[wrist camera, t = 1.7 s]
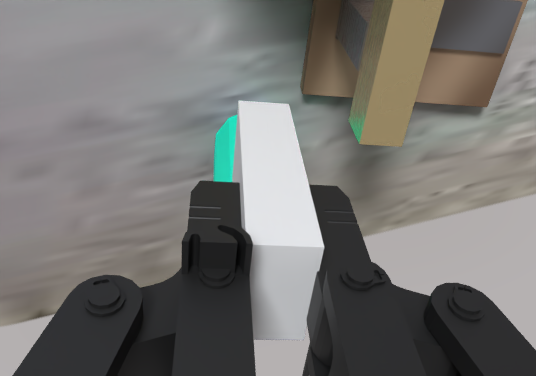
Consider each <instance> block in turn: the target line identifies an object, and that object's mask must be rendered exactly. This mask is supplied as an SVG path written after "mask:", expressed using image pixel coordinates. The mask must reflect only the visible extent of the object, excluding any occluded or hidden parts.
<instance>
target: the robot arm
mask: <svg viewBox="0 0 536 376" xmlns="http://www.w3.org/2000/svg"><path fill="white" fill-rule="evenodd" d="M307 326H308V331H309V337H310V345H309V350H308V353H307V358H306V362H305V366H304V370H303V376H536V350H535V349H534V348H533V347H532V345H531V344H530V343H529V342H528V341H527V340H526V339H525V338H524V336H523V335H522V334H521V333H520V332H519V331H518V330H517V329H516V327H515V326H514V325H513V324H512V323H511V322H510V321H509V320H508V318H507V317H506V316H505V315H504V314H503V313H502V312H501V311H500V309H499V308H498V307H497V306H496V305H495V304H494V303H493V302H492V301H491V300H490V299H489V298H488V297H487V296H486V295H484V294H483V293H482V292H480V291H478V290H476V289H474V288H472V287H470V286H467V285H463V284H459V283H444V284H442V285H439V286H437V287H436V288H435V289H434V291H433V292H432V293H431V296H428V295H424V294H420V293H416V292H413V291H409V290H406V289H403V288H400V287H397V286H396V285H393V284H392V283H391V280H390V278H389V277H388V275H387V274H386V272H385V271H384V270H383V269H382V268H380V267H379V266H378V265H377V264H375V263H373V262H371V260H370V257H369V254H368V251H367V249H366V246H365V243H364V240H363V237H362V234H361V231H360V228H359V226H358V224H357V220H356V217H355V214H354V213H353V209H352V206H351V203H350V200H349V198H348V197H347V196H346V195H345V194H344V193H343V192H342V191H341V190H340V189H339V188H338V187H337V186H324V185H309V184H308V180H307V176H306V172H305V168H304V164H303V160H302V155H301V151H300V147H299V143H298V139H297V135H296V131H295V127H294V123H293V119H292V115H291V111H290V107H289V104H280V103H265V102H251V101H238V113H237V126H236V138H235V151H234V163H233V175H232V182H218V181H200V182H199V183H198V184H197V186H196V187H195V188H194V189H193V190H192V191H191V199H190V209H189V220H188V230H187V232H186V233H185V235H184V238H183V240H182V267H181V268H180V270H179V271H178V272H177V273H176V274H175V275H174V276H173V277H171V278H169V279H167V280H166V281H164V282H161V283H158V284H154V285H151V286H146V287H142V288H139V287H138V286H137V285H136V284H135V283H134V282H133V281H132V280H130V279H127V278H125V277H122V276H117V275H103V276H98V277H93V278H90V279H88V280H86V281H84V282H82V283H81V284H79V285H78V286H77V287H76V288H75V289H74V290H73V291H72V292H71V293H70V294H69V295H68V297H67V298H66V299H65V301H64V302H63V304H62V305H61V307H60V308H59V310H58V311H57V312H56V314H55V315H54V317H53V318H52V320H51V321H50V322H49V324H48V325H47V327H46V328H45V330H44V331H43V333H42V334H41V336H40V337H39V338H38V340H37V341H36V343H35V344H34V346H33V347H32V348H31V350H30V352H29V353H28V354H27V356H26V357H25V359H24V360H23V361H22V363H21V365H20V366H19V367H18V369H17V370H16V372H15V373H14V375H13V376H256V373H255V357H254V342H253V339H254V340H255V339H256V340H304V337H305V332H306V328H307Z"/></svg>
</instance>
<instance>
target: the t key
mask: <svg viewBox="0 0 536 376" xmlns="http://www.w3.org/2000/svg"><path fill="white" fill-rule="evenodd" d="M443 4H444V0H342V1H341V7H340V12H339V18H338V23H337V29H336V36H337V38H338V39H339V41H340V43H341V44H342V46H343V48H344V49H345V51H346V53H347V54H348V56H349V58H350V59H351V61H352V63H353V64H354V66H355V68H356V69H357V71H359V74H358V79H357V83H356V88H355V93H354V97H353V102H352V106H351V111H350V116H349V120H348V121H349V123H350V125H351V127H352V129H353V132H354V134H355V136H356V138H357V140H358V143H359V144H365V145H382V146H399V147H402V144H403V141H404V137H405V134H406V130H407V127H408V124H409V120H410V117H411V113H412V110H413V106H414V103H415V100H416V96H417V93H418V89H419V86H420V82H421V79H422V76H423V72H424V69H425V65H426V62H427V58H428V55H429V52H430V48H431V45H432V41H433V38H434V34H435V31H436V28H437V24H438V21H439V17H440V14H441V10H442V7H443Z"/></svg>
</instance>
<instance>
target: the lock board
mask: <svg viewBox="0 0 536 376" xmlns="http://www.w3.org/2000/svg"><path fill="white" fill-rule="evenodd" d="M341 1H342V0H313V7H312V13H311V20H310V27H309V33H308V40H307V46H306V53H305V59H304V66H303V73H302V79H301V86H300V87H301V91H302V94H309V95H323V96H337V97H352V98H353V97H354V93H355V88H356V83H357V79H358V74H359V71H357V69H356V68H355V66H354V64H353V63H352V61H351V59H350V58H349V56H348V54H347V53H346V51H345V49H344V48H343V46H342V44H341V43H340V41H339V39H338V38H337V36H336V29H337V23H338V18H339V12H340V7H341ZM527 1H528V0H444V4H443V7H442V10H441V14H440V17H439V21H438V24H437V28H436V31H435V34H434V38H433V41H432V45H431V48H430V52H429V55H428V58H427V62H426V65H425V69H424V72H423V76H422V79H421V82H420V86H419V89H418V93H417V96H416V100H415V102H422V103H436V104H450V105H464V106H478V107H487V106H488V103H489V101H490V98H491V95H492V93H493V90H494V88H495V85H496V82H497V80H498V77H499V74H500V72H501V69H502V66H503V64H504V61H505V59H506V56H507V53H508V51H509V48H510V45H511V43H512V40H513V38H514V35H515V32H516V30H517V27H518V24H519V22H520V19H521V17H522V14H523V11H524V9H525V6H526V3H527Z"/></svg>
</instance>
